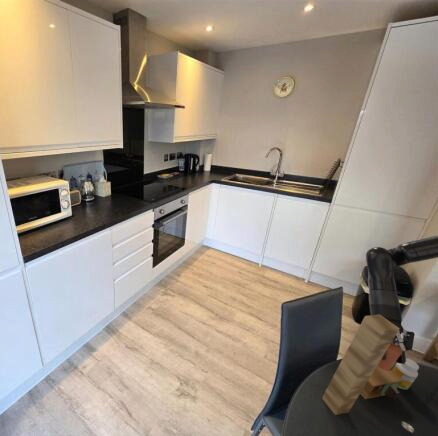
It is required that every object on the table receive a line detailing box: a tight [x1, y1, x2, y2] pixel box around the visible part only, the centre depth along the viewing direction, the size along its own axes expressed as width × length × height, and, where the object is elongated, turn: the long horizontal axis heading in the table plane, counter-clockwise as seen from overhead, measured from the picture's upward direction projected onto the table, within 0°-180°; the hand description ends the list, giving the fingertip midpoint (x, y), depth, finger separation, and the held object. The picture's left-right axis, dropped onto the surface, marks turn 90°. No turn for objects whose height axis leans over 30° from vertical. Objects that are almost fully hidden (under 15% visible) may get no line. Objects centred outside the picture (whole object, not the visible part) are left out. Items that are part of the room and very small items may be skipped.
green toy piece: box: [380, 382, 400, 401], centre depth 79 cm, size 5×3×5 cm, turn 101°
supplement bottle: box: [392, 357, 420, 390], centre depth 84 cm, size 5×5×10 cm
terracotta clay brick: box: [377, 342, 402, 371], centre depth 79 cm, size 4×4×8 cm
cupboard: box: [359, 366, 403, 400], centre depth 83 cm, size 12×7×7 cm, turn 101°
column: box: [321, 314, 400, 416], centre depth 71 cm, size 5×5×35 cm
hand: (391, 361), depth 77 cm, fingers closed on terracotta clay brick, 4 cm apart
